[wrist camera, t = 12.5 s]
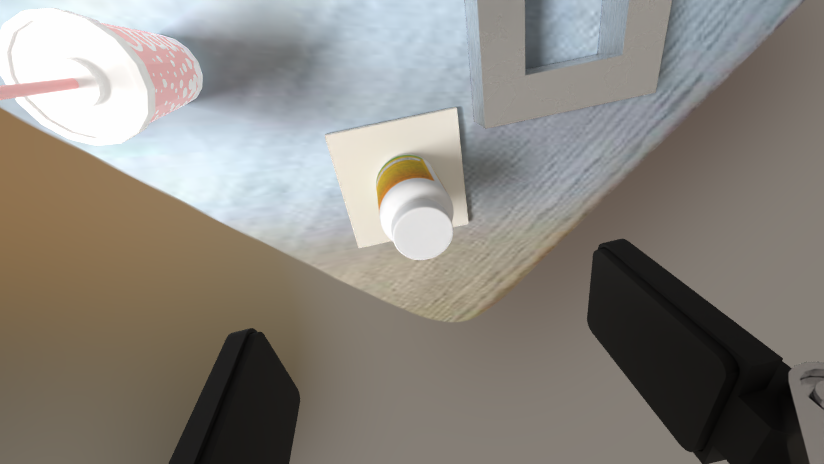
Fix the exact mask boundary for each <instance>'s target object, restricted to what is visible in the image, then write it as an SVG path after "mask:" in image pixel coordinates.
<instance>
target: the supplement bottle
mask: <svg viewBox="0 0 824 464" xmlns="http://www.w3.org/2000/svg"><path fill="white" fill-rule="evenodd" d="M376 191H377V199H378V208H379V217H380V222H381V226H382V228H383V231H384V232H385V234H386V235H387V236H388V238H389V239H390V240H392V241H393V242H394V244H395V246H396V248H397V249H398V251H399V252H400V253H401V254H403V255H404V256H406V257H408V258H410V259H414V260H427V259H431V258H434V257H436V256H438V255H440V254H441V253H442V252H443V251H445V250H446V248H447V247H448V246H449V244H450V242H451V240H452V237H453V224H452V220H453V214H454V211H453V204H452V201H451V199H450V196H449V194H448V193H447V191H446V189H445V188H444V186H443V184H442V182H441V181H440V179H439V177H438V176H437V174H436V172H435V171H434V169H433V167H432V166H431V165H430V164H429V163H428V162H427V161H426V160H425V159H423V158H422V157H420V156H417V155H413V154H401V155H397V156H394V157H392V158H391V159H389V160H388V161H387V162H386V163H385V164H384V165H383V166H382V167H381V169H380V170H379V172H378V175H377V179H376Z"/></svg>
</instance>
